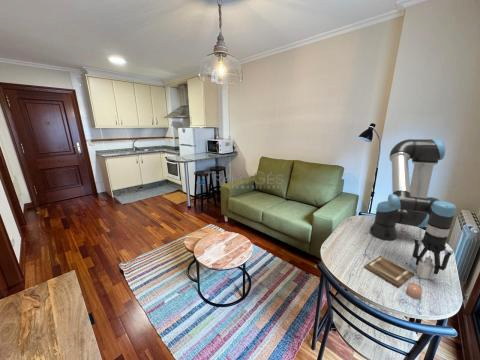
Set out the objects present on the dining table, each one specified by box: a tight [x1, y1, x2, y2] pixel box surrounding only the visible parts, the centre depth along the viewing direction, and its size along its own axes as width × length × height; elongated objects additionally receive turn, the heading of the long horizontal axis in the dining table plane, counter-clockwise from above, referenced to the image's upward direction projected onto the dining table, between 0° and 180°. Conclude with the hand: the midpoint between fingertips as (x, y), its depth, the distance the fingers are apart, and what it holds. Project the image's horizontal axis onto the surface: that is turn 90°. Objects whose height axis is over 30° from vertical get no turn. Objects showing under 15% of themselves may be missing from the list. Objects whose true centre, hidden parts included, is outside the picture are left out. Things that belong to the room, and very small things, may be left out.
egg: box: [405, 282, 423, 300], centre depth 89 cm, size 5×5×4 cm
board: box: [363, 255, 415, 289], centre depth 103 cm, size 16×16×2 cm
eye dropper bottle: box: [416, 255, 435, 280], centre depth 97 cm, size 4×6×12 cm
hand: (424, 274), depth 98 cm, fingers closed on eye dropper bottle, 5 cm apart
